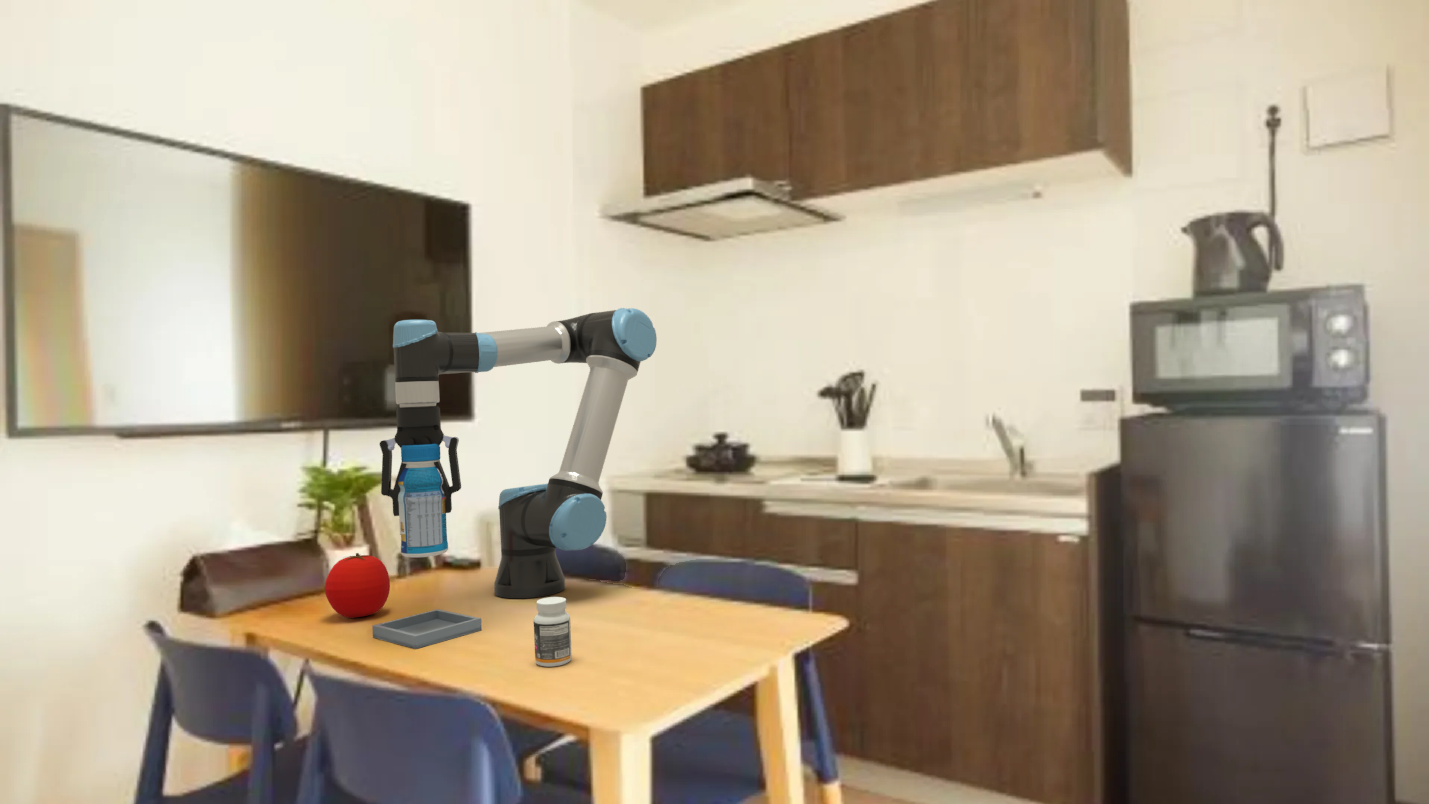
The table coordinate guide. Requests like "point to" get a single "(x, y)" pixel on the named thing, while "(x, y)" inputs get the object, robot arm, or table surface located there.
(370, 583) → the tomato
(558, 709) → the table surface
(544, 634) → the pill bottle
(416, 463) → the beverage bottle
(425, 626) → the tray
